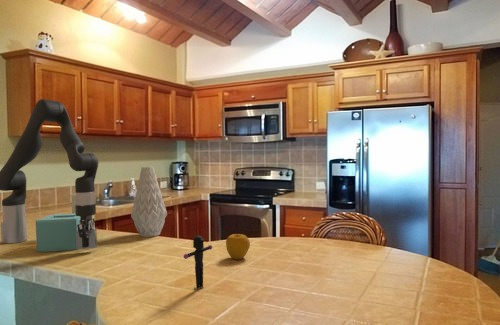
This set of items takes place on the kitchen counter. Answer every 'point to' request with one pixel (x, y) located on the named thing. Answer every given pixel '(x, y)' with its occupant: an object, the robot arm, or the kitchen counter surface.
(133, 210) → the vase
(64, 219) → the coin box
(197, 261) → the figurine
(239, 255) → the apple
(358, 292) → the kitchen counter surface
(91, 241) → the brushed metal block
